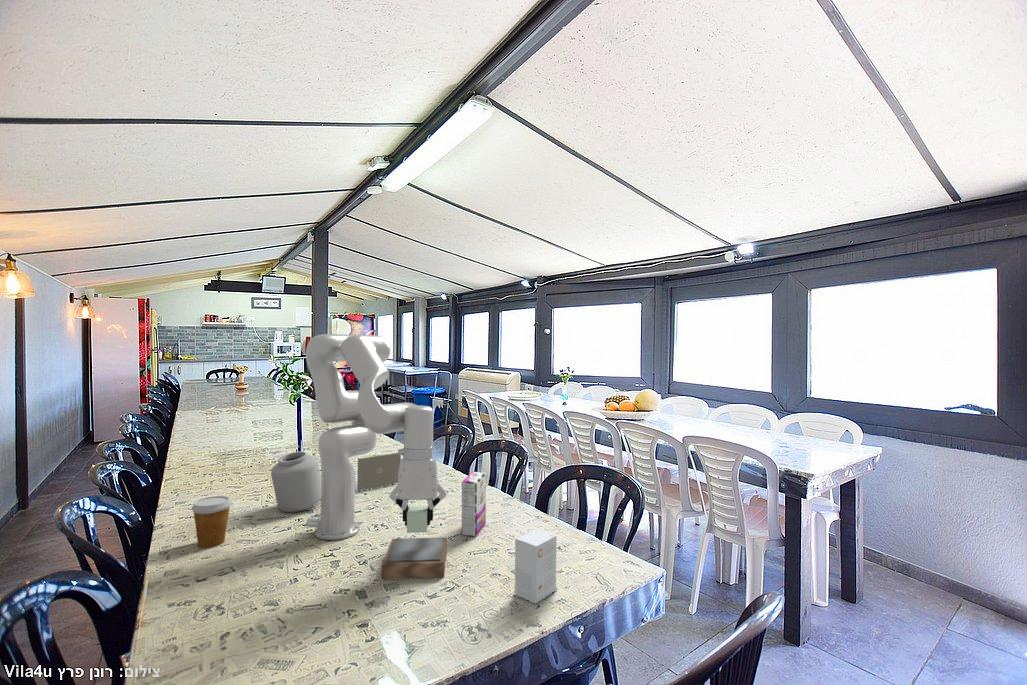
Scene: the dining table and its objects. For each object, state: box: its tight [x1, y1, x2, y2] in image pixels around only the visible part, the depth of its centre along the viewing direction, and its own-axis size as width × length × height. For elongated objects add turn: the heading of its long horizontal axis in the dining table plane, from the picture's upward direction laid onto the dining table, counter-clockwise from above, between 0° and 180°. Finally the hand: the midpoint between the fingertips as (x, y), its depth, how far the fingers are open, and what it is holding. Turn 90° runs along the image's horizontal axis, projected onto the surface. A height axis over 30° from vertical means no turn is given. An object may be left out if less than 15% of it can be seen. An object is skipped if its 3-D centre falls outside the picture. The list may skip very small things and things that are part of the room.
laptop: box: [355, 452, 402, 492], centre depth 190 cm, size 18×12×13 cm
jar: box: [270, 436, 321, 519], centre depth 160 cm, size 19×15×25 cm
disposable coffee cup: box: [191, 495, 233, 549], centre depth 132 cm, size 10×10×12 cm
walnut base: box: [381, 536, 448, 580], centre depth 122 cm, size 15×15×4 cm
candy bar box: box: [461, 471, 487, 538], centre depth 145 cm, size 11×5×16 cm, turn 168°
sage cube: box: [406, 505, 429, 534], centre depth 122 cm, size 5×5×5 cm
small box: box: [514, 528, 557, 605], centre depth 109 cm, size 8×6×13 cm
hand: (417, 522), depth 122 cm, fingers closed on sage cube, 5 cm apart
